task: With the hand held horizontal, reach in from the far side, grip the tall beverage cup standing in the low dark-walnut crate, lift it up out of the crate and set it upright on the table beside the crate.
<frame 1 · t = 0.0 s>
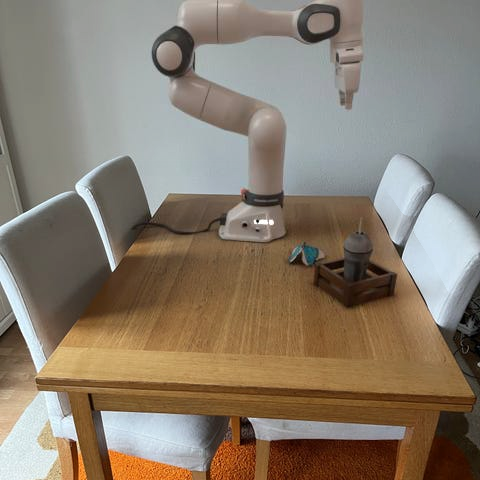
hand: (345, 107, 140), 39 cm above the table, tool pointing down, fingers open, 8 cm apart
beverage cup: (352, 290, 124), resting in crate
decorative butterfly: (303, 260, 141), on the table
crate: (352, 289, 124), on the table
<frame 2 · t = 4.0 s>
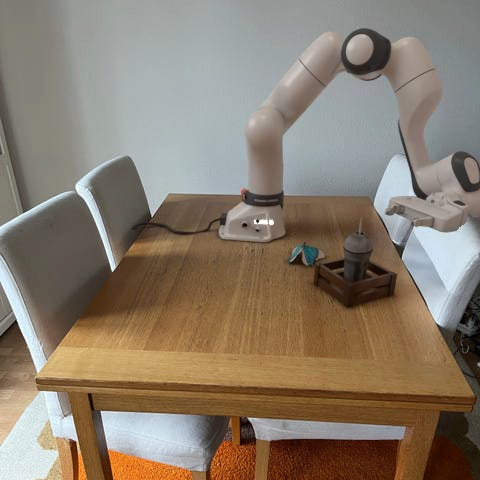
hand: (399, 217, 120), 18 cm above the table, tool horizontal, fingers open, 8 cm apart
nothing on the table moved.
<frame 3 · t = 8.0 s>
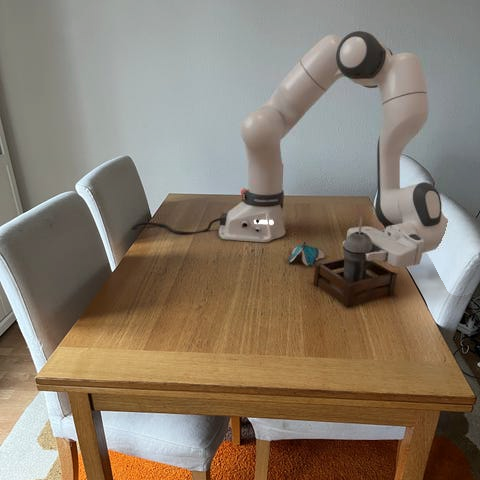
hand: (354, 250, 118), 11 cm above the table, tool horizontal, fingers closed on beverage cup, 7 cm apart
beverage cup: (352, 290, 124), resting in crate, touching gripper
everything else where it was.
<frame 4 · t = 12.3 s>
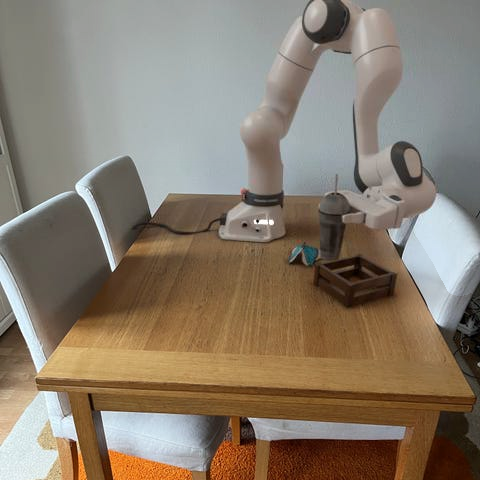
hand: (330, 213, 110), 22 cm above the table, tool horizontal, fingers closed on beverage cup, 7 cm apart
beverage cup: (329, 257, 116), point 11 cm above the table, touching gripper
everything else where it was.
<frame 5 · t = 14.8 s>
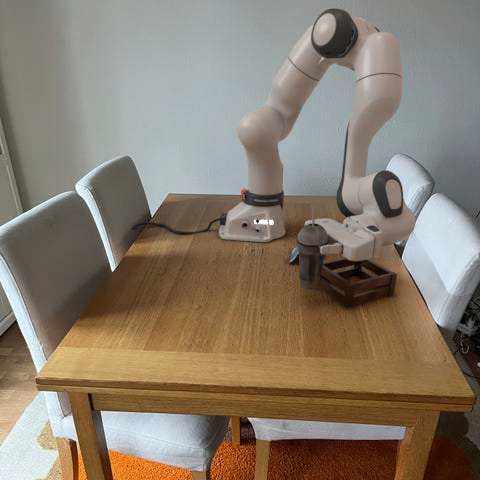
hand: (309, 243, 111), 15 cm above the table, tool horizontal, fingers closed on beverage cup, 7 cm apart
beverage cup: (309, 286, 117), point 4 cm above the table, touching gripper
everything else where it was.
when the fingers open (11 cm above the table, at t = 16.7 s): beverage cup stays where it is, on the table.
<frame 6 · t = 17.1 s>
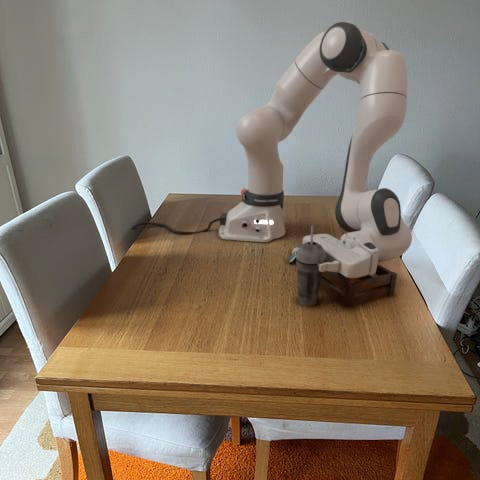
hand: (307, 260, 113), 11 cm above the table, tool horizontal, fingers open, 8 cm apart
beverage cup: (307, 302, 119), on the table
everything else where it was.
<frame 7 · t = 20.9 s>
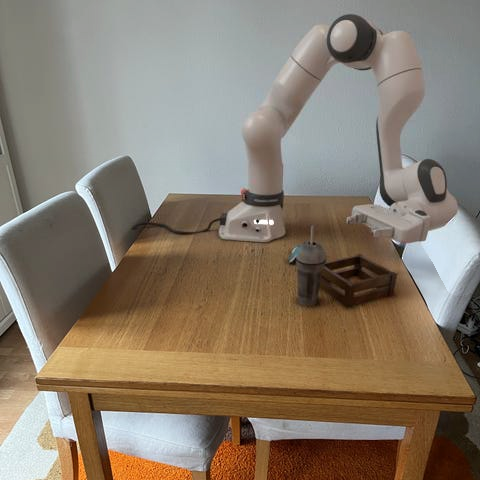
hand: (360, 227, 117), 17 cm above the table, tool horizontal, fingers open, 8 cm apart
nothing on the table moved.
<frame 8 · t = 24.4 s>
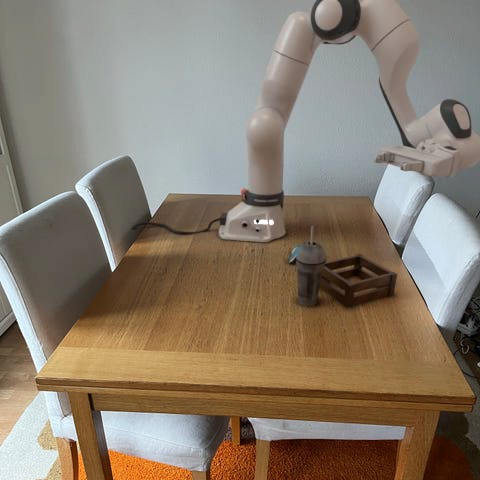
hand: (389, 163, 117), 30 cm above the table, tool horizontal, fingers open, 8 cm apart
nothing on the table moved.
at the end: beverage cup inside the target area on the table beside the crate (0.2 cm from its centre), on the table; beverage cup tilted 0°; beverage cup touching table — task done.
